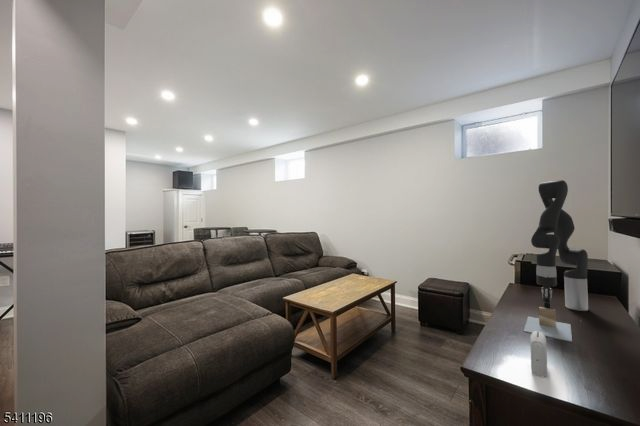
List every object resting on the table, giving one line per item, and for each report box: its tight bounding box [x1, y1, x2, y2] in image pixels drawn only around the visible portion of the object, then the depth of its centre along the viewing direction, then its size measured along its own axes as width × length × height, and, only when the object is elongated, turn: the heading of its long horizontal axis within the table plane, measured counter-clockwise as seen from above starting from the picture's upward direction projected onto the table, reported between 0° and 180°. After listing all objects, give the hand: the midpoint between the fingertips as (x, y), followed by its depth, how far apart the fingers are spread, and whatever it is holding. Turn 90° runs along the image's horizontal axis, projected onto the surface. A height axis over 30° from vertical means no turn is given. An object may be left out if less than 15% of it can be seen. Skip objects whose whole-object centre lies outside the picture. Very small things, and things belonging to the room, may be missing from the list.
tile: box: [538, 306, 557, 328], centre depth 126 cm, size 2×6×8 cm, turn 48°
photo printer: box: [529, 331, 548, 377], centre depth 92 cm, size 10×4×12 cm, turn 140°
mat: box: [523, 316, 573, 343], centre depth 124 cm, size 22×16×1 cm
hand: (547, 310), depth 129 cm, fingers closed
